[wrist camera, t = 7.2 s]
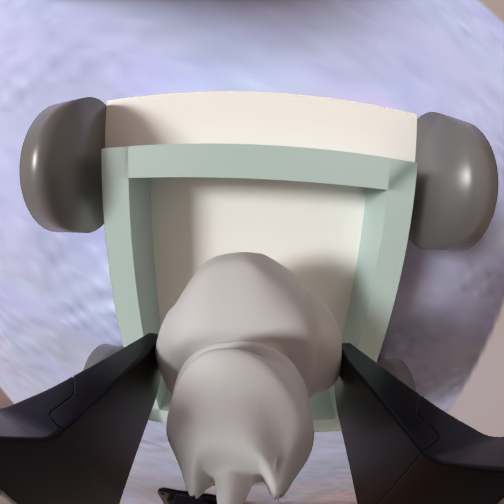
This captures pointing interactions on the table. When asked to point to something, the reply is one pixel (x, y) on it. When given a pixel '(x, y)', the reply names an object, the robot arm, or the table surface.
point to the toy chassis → (259, 199)
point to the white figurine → (245, 374)
